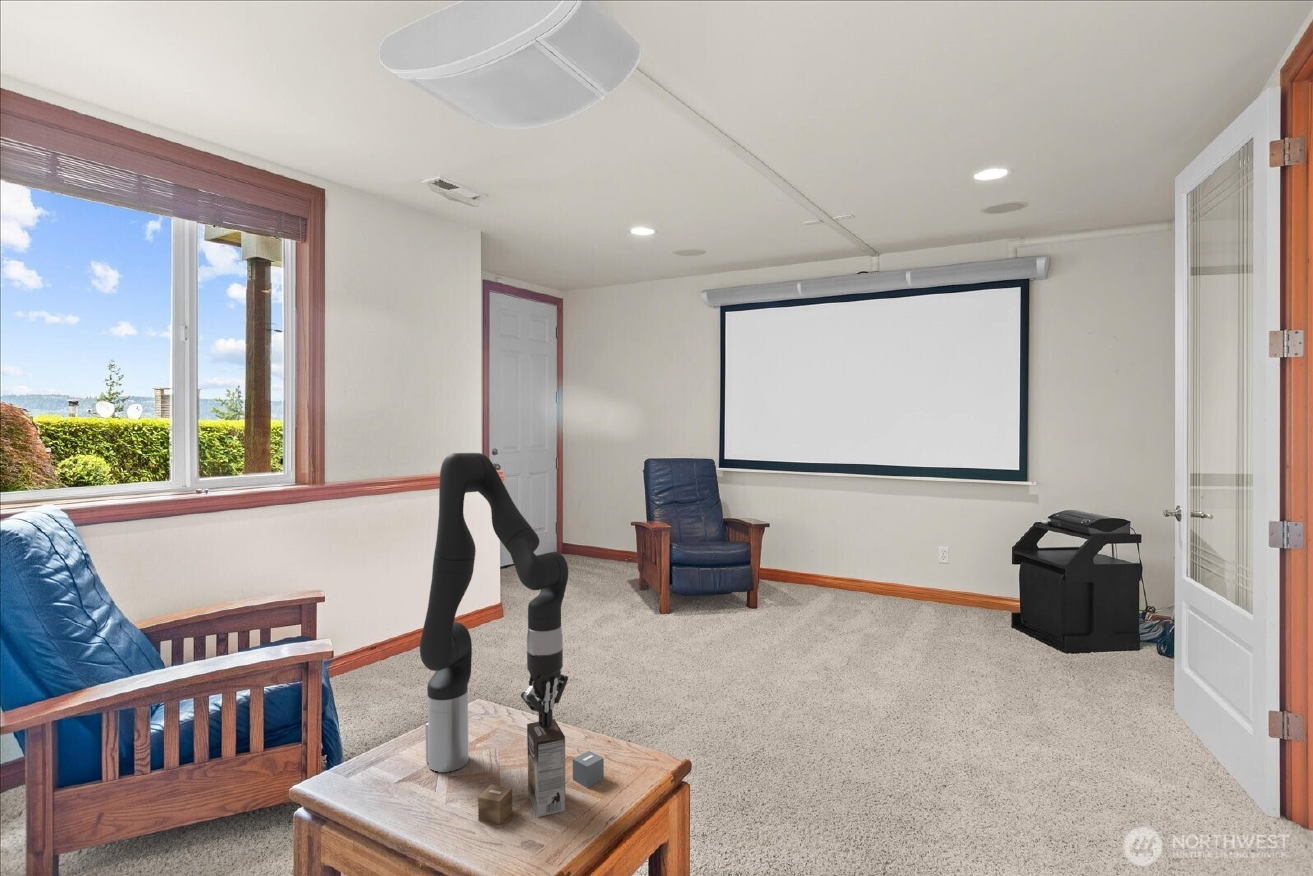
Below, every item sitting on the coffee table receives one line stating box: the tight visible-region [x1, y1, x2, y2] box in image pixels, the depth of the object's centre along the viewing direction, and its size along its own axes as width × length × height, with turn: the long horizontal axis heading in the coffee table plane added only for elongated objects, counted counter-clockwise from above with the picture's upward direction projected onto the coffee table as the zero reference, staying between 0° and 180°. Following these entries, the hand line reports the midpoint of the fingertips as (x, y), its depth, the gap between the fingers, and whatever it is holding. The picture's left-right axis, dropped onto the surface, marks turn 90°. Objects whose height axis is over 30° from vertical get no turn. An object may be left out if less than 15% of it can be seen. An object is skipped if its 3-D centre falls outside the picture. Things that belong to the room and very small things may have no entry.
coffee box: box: [526, 718, 566, 818], centre depth 141 cm, size 9×6×16 cm
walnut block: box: [477, 784, 513, 826], centre depth 137 cm, size 5×5×5 cm
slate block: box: [572, 750, 605, 789], centre depth 150 cm, size 5×5×5 cm
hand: (545, 727), depth 141 cm, fingers closed
